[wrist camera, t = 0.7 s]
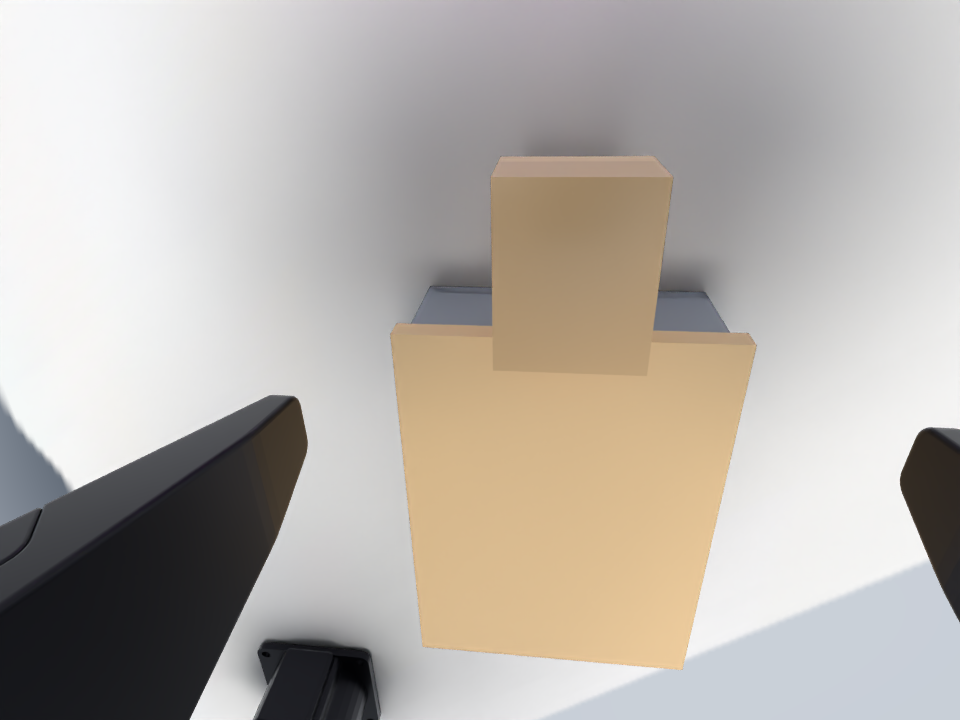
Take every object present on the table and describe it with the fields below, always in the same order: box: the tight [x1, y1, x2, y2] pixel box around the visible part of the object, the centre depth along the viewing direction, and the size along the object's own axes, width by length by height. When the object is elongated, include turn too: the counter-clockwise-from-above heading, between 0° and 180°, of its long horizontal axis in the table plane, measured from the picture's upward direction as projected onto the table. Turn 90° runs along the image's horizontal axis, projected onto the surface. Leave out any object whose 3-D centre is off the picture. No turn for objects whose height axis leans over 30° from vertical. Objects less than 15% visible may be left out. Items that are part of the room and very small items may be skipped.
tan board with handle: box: [390, 156, 757, 670], centre depth 19 cm, size 20×11×3 cm, turn 1°
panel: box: [411, 286, 730, 333], centre depth 23 cm, size 14×10×4 cm
